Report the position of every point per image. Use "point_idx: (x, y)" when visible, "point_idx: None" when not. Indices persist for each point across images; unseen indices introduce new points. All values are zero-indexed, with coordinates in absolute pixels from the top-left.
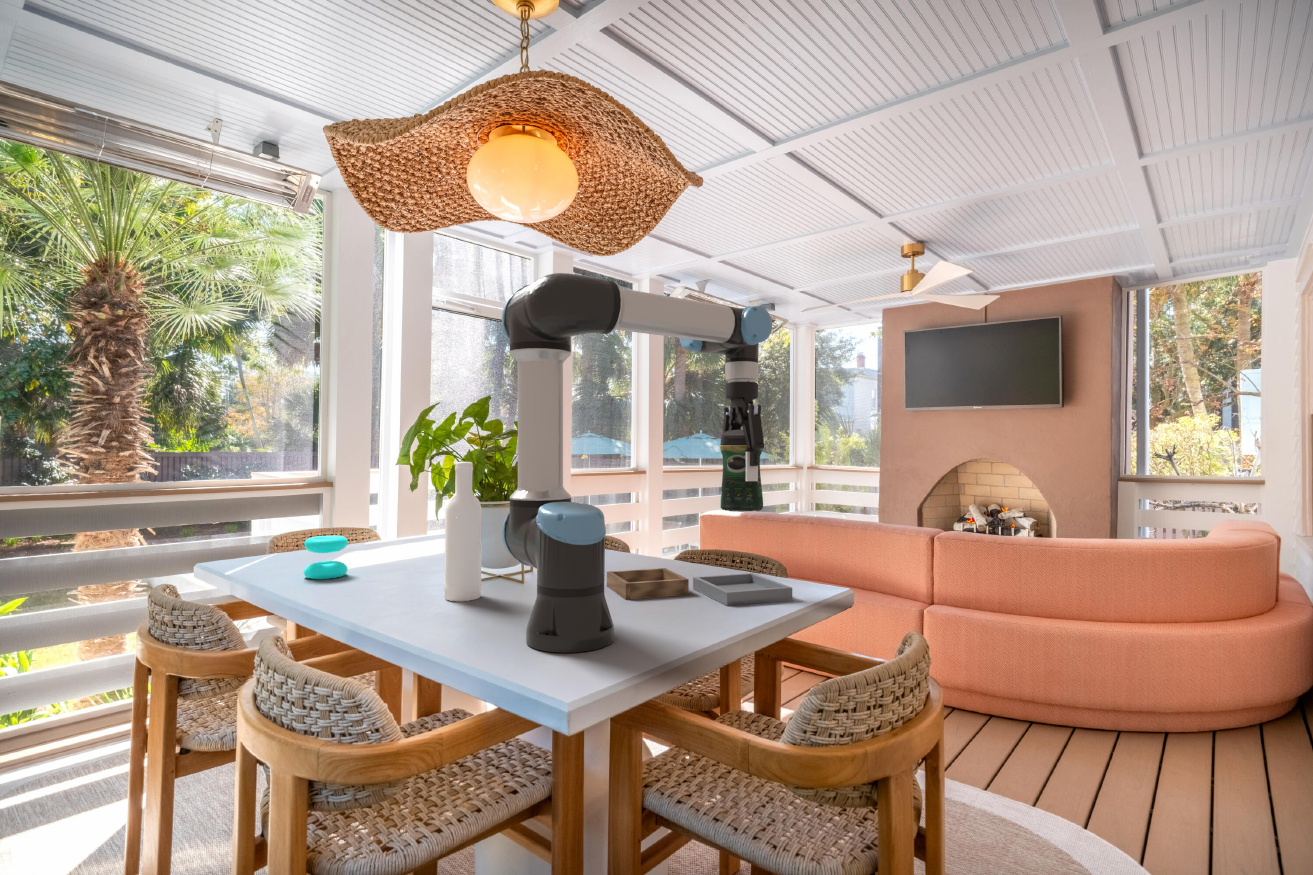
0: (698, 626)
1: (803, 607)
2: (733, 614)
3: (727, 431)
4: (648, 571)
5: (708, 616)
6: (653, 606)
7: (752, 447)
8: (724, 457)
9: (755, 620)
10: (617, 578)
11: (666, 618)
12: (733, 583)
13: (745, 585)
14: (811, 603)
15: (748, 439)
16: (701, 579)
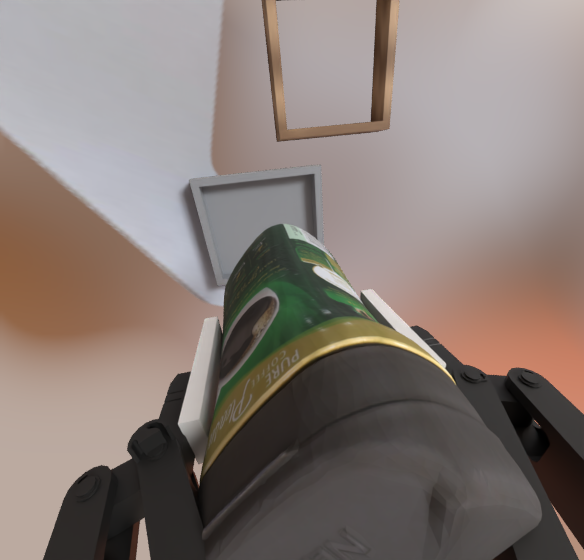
0: (44, 73)
1: (178, 278)
2: (136, 168)
3: (431, 529)
4: (383, 87)
5: (120, 121)
6: (197, 35)
7: (104, 472)
8: (303, 307)
9: (98, 189)
10: None
11: (100, 27)
12: (314, 233)
13: None
14: (200, 294)
15: (147, 532)
16: (297, 172)
